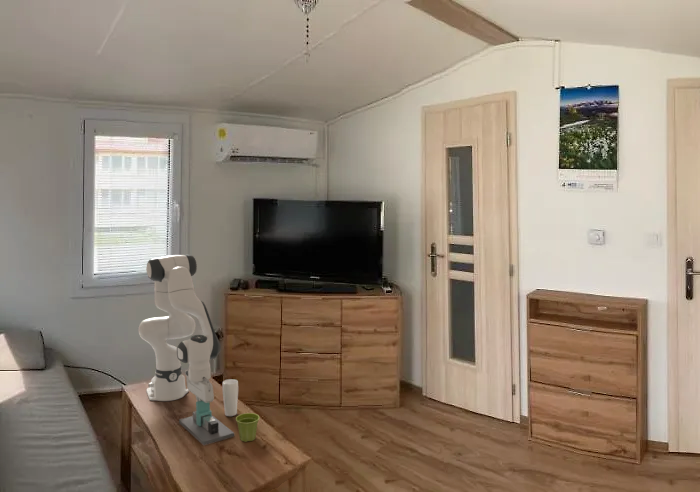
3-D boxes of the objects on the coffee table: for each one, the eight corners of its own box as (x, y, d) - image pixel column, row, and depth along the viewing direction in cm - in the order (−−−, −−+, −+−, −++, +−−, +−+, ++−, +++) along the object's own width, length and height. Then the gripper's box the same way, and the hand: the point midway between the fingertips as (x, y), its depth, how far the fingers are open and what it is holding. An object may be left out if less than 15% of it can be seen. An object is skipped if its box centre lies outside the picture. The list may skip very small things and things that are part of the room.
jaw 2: (199, 419, 231) (199, 410, 230) (202, 419, 231) (202, 409, 231) (215, 433, 218) (214, 423, 218) (218, 432, 219) (218, 422, 218)
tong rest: (179, 422, 231) (178, 412, 231) (208, 415, 239) (207, 405, 239) (203, 445, 211) (203, 434, 211) (234, 436, 219) (234, 425, 218)
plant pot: (264, 436, 220) (264, 415, 219) (250, 445, 211) (250, 424, 210) (245, 431, 223) (244, 411, 222) (231, 441, 215) (230, 420, 214)
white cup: (234, 418, 237) (234, 384, 235) (220, 416, 238) (219, 383, 237) (241, 412, 243) (240, 379, 242) (226, 410, 245) (226, 378, 243)
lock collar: (196, 423, 226) (195, 401, 225) (208, 420, 229) (208, 398, 228) (199, 426, 224) (198, 404, 223) (211, 422, 227) (211, 401, 226)
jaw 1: (195, 420, 230) (195, 411, 229) (199, 419, 231) (199, 410, 230) (211, 434, 217) (211, 424, 217) (215, 433, 218) (214, 423, 218)
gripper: (217, 379, 221) (217, 412, 222) (197, 366, 237) (198, 397, 238) (202, 382, 217) (203, 416, 218) (183, 369, 233) (184, 400, 234)
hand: (200, 406), depth 228 cm, fingers closed
